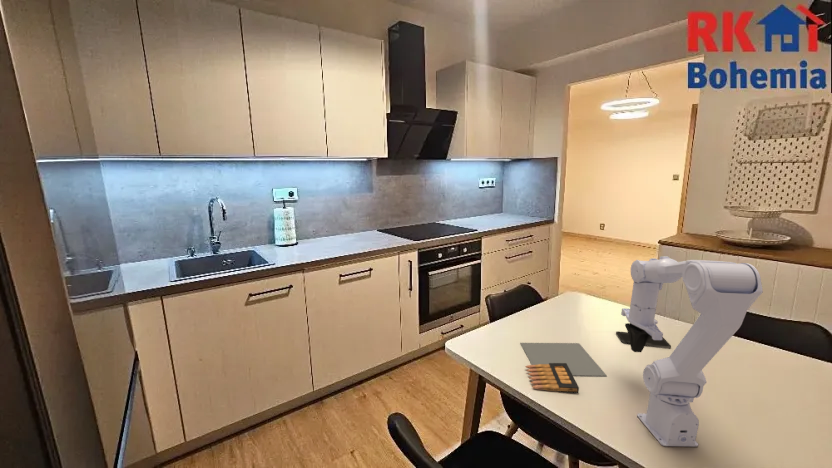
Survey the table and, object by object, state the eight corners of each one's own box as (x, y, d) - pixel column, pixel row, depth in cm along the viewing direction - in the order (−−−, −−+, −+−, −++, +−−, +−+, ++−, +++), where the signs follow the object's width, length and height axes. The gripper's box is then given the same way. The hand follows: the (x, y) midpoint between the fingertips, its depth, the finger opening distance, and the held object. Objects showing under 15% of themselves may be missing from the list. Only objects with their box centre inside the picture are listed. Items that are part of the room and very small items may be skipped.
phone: (615, 331, 125) (661, 335, 121) (614, 333, 125) (661, 338, 122) (622, 342, 117) (672, 347, 114) (622, 345, 117) (672, 350, 114)
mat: (606, 376, 100) (606, 375, 100) (537, 375, 100) (537, 374, 100) (578, 343, 117) (579, 343, 117) (520, 343, 118) (520, 342, 118)
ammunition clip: (565, 368, 103) (524, 367, 104) (566, 362, 102) (524, 362, 103) (578, 393, 92) (532, 392, 94) (579, 387, 92) (532, 386, 93)
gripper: (678, 316, 84) (669, 366, 87) (641, 294, 98) (635, 337, 101) (649, 316, 84) (641, 366, 87) (616, 294, 98) (610, 337, 101)
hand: (636, 350), depth 94 cm, fingers closed
